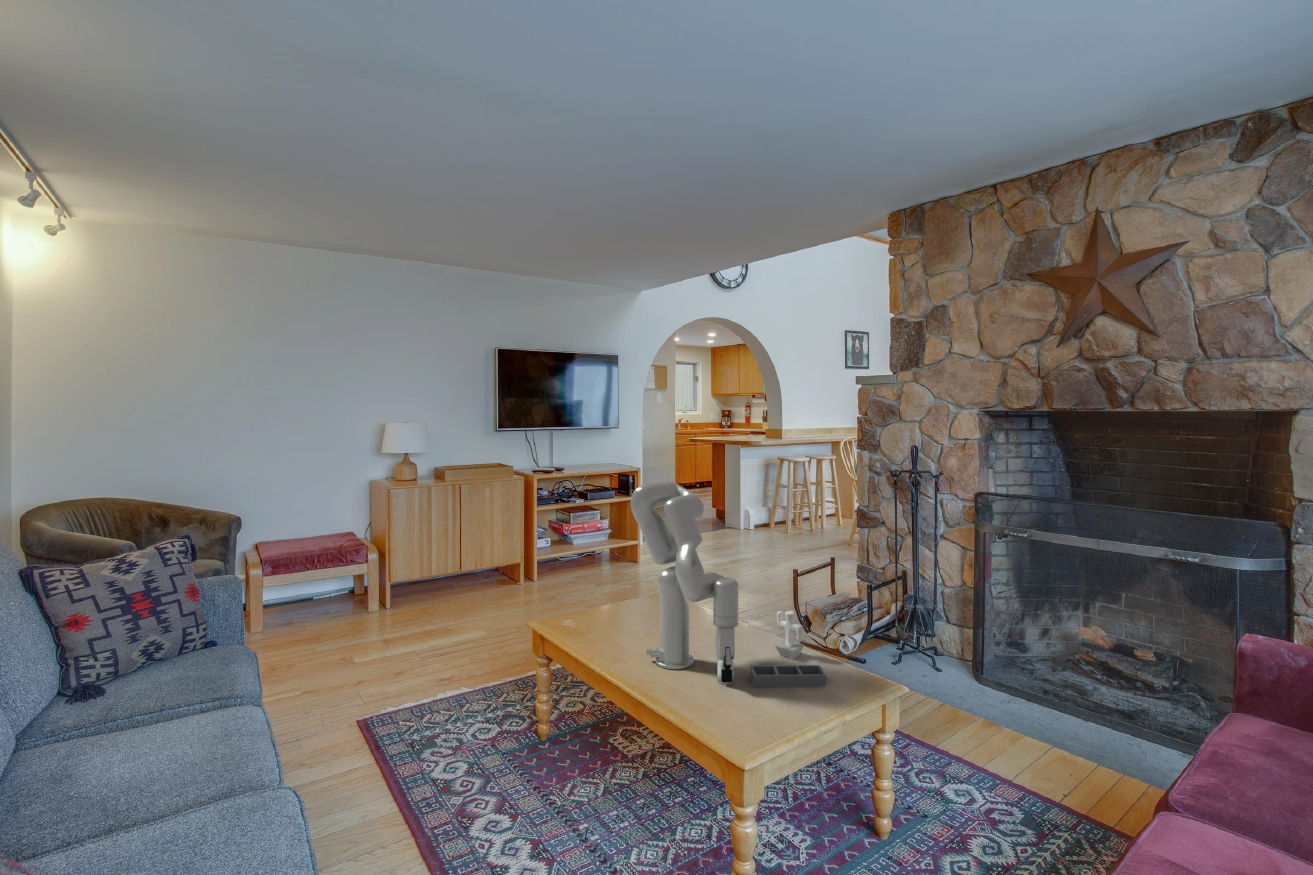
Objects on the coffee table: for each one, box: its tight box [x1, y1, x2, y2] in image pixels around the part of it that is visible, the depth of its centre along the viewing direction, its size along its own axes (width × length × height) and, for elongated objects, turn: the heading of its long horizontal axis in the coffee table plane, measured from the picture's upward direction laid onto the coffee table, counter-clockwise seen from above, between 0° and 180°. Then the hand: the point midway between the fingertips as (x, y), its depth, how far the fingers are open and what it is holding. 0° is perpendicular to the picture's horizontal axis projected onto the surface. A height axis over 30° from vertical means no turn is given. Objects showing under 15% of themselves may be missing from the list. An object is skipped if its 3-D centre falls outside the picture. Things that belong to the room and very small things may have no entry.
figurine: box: [774, 610, 805, 660], centre depth 217 cm, size 7×9×15 cm
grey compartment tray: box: [749, 664, 828, 688], centre depth 197 cm, size 22×8×3 cm, turn 91°
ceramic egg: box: [716, 657, 735, 686], centre depth 197 cm, size 5×5×8 cm
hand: (725, 677), depth 197 cm, fingers closed on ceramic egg, 5 cm apart
